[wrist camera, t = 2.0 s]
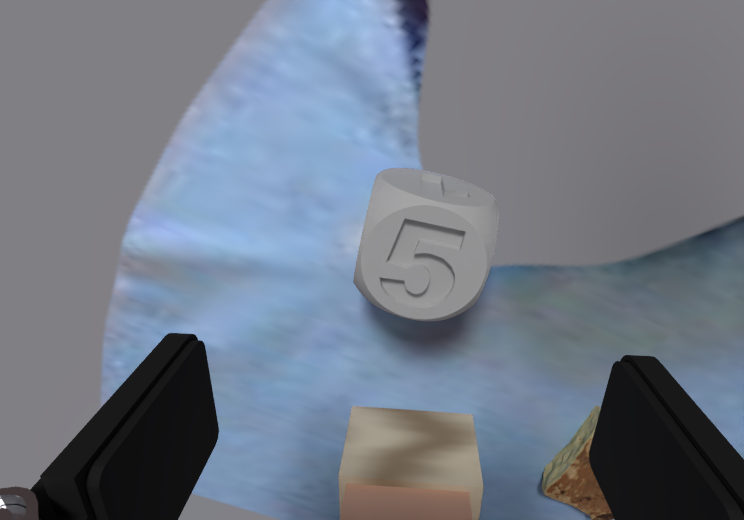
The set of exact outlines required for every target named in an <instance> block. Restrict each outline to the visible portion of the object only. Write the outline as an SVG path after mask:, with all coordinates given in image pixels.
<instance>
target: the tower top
mask: <svg viewBox="0 0 744 520" xmlns="http://www.w3.org/2000/svg"><path fill="white" fill-rule="evenodd" d="M340 520H472V511H471V503H470V495H469V492H464V491H449V490H434V489H420V488H405V487H390V486H376V485H361V484H346V486H345V492H344V498H343V503H342V509H341V515H340Z"/></svg>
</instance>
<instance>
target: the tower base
mask: <svg viewBox="0 0 744 520" xmlns="http://www.w3.org/2000/svg"><path fill="white" fill-rule="evenodd" d="M346 484H361V485H376V486H390V487H405V488H420V489H434V490H449V491H464V492H469V495H470V503H471V511H472V520H479V516H480V509H481V502H482V495H483V488H484V486H483V480H482V474H481V467H480V461H479V454H478V448H477V441H476V435H475V428H474V422H473V415H472V414H460V413H446V412H431V411H417V410H403V409H388V408H374V407H359V406H352V409H351V414H350V419H349V424H348V430H347V435H346V440H345V445H344V450H343V455H342V460H341V466H340V471H339V499H340V515H341V509H342V503H343V498H344V492H345V486H346Z"/></svg>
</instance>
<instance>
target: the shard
mask: <svg viewBox="0 0 744 520" xmlns="http://www.w3.org/2000/svg"><path fill="white" fill-rule="evenodd" d="M600 410H601V408H600V407H598V406H595V407H594V409H593V410H592V411H591V413H590V415H589V417H588V418H587V419H586V420H585V421H584V423H583V424H582V426H581V427H580V428H579V430H578V431H577V432H576V433H575V435H574V437H573V438H572V439H571V442H570V443H569V444H567V445H566V447H564V448H563V449H562V450H561V451H560V452H559V453H558V454H557V455H556V456H555V458H554V459H553V460H552V461H551V462H550V463H549V464H548V465H547V466H546V467H545V471H544V473H543V481H542V490H543V493H544V494H545V495H546V496H548V497H550V498H552V499H555V500H558V501H561V502H564V503H566V504H569V505H572V506H574V507H575V508H578V509H579V510H581V511H582V512H584V513H586V514H587V515H589V516H590V517H591V520H612V519H614V517H613V515H612V512H611V510H610V508H609V506H608V504H607V502H606V499H605V497H604V495H603V493H602V491H601V489H600V486H599V484H598V482H597V480H596V478H595V475H594V473H593V471H592V469H591V466H590V462H589V450H590V446H591V443H592V439H593V435H594V432H595V428H596V424H597V421H598V417H599V413H600Z"/></svg>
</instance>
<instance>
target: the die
mask: <svg viewBox="0 0 744 520" xmlns="http://www.w3.org/2000/svg"><path fill="white" fill-rule="evenodd" d="M498 224H499V210H498V205H497V202H496V200H495V199H494V197H493V196H492V195H491V194H490V193H488V192H487V191H485V190H484V189H482V188H480V187H478V186H475V185H473V184H471V183H468V182H466V181H463V180H460V179H457V178H454V177H450V176H447V175H443V174H439V173H434V172H429V171H424V170H417V169H408V168H391V169H386V170H383V171H382V172H380V173H379V174H377V176H376V179H375V182H374V185H373V189H372V193H371V197H370V201H369V205H368V210H367V214H366V219H365V223H364V228H363V232H362V237H361V242H360V246H359V251H358V257H357V262H356V267H355V273H354V281H353V282H354V284H355V285H356V287H357V288H358V290H359V291H360V292H361V294H362V295H363V296H364V297H365V298H366V299H367V300H368V301H369V302H371V303H372V304H373V305H375V306H377V307H378V308H380V309H382V310H384V311H386V312H388V313H391V314H393V315H396V316H399V317H403V318H407V319H411V320H417V321H441V320H445V319H449V318H452V317H454V316H457V315H459V314H461V313H463V312H465V311H466V310H468V309H470V308H471V307H472V306H474V304H475V303H476V302H477V300H478V298H479V297H480V295H481V293H482V290H483V288H484V285H485V283H486V280H487V277H488V274H489V271H490V268H491V264H492V260H493V255H494V252H495V246H496V241H497V234H498Z"/></svg>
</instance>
